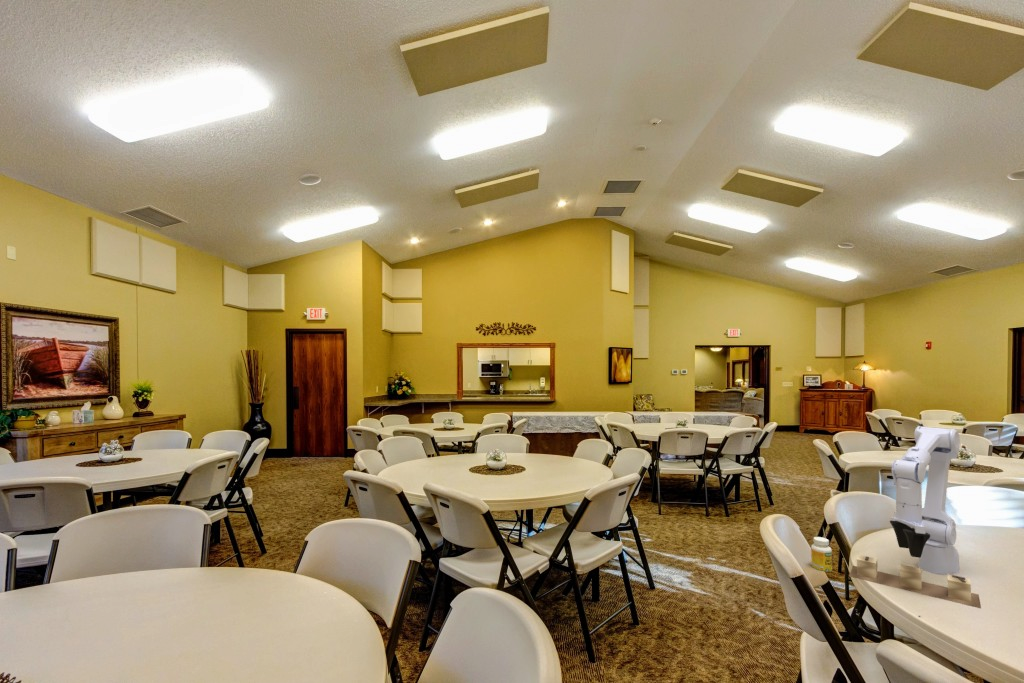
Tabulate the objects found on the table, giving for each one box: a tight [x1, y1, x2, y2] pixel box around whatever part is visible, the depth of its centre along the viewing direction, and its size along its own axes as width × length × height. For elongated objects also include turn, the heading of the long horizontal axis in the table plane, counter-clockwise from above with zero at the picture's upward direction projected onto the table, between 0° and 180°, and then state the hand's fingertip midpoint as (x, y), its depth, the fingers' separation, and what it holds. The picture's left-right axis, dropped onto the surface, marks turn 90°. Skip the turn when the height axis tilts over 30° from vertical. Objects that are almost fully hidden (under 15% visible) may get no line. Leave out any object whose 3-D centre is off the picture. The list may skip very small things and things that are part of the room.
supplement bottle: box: [810, 536, 833, 572], centre depth 148 cm, size 5×5×10 cm
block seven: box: [946, 574, 972, 602], centre depth 130 cm, size 4×4×5 cm
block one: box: [856, 554, 878, 579], centre depth 143 cm, size 4×4×5 cm
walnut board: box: [848, 565, 982, 609], centre depth 137 cm, size 28×10×1 cm, turn 49°
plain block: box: [899, 563, 923, 590], centre depth 137 cm, size 4×4×4 cm
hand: (909, 552), depth 137 cm, fingers open, 7 cm apart
